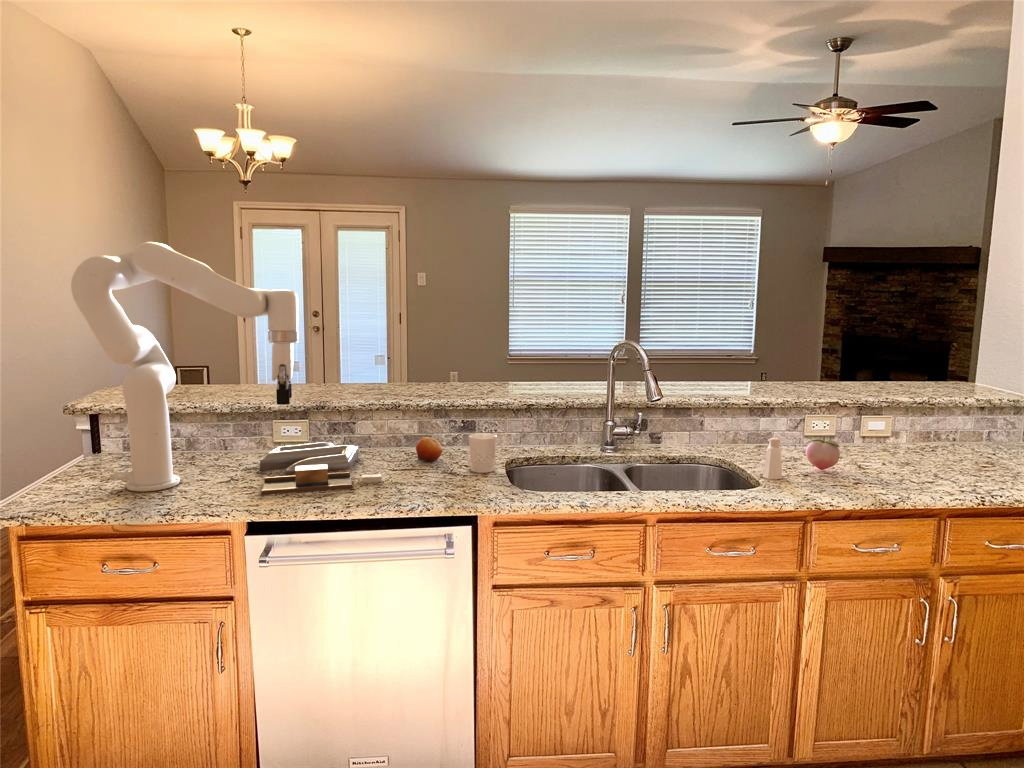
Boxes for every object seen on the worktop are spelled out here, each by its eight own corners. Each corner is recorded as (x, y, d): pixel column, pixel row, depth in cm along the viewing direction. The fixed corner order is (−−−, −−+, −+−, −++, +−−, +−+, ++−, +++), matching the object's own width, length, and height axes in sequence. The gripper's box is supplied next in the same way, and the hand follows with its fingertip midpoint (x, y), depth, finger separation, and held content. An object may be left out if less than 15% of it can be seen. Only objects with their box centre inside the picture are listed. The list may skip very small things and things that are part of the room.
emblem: (308, 466, 183) (238, 451, 197) (309, 486, 184) (239, 470, 198) (380, 445, 207) (313, 433, 221) (381, 462, 207) (314, 450, 221)
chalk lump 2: (371, 477, 184) (381, 476, 184) (371, 474, 186) (380, 474, 187) (372, 486, 184) (381, 485, 185) (371, 483, 187) (380, 483, 187)
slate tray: (261, 499, 173) (261, 490, 172) (264, 485, 184) (264, 477, 184) (352, 492, 179) (352, 484, 178) (350, 479, 190) (350, 471, 190)
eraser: (295, 487, 178) (295, 470, 177) (296, 482, 182) (295, 466, 182) (328, 485, 180) (327, 468, 180) (327, 480, 185) (327, 464, 184)
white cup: (478, 475, 196) (478, 440, 194) (463, 468, 202) (463, 435, 200) (501, 470, 200) (501, 436, 199) (486, 464, 206) (486, 431, 205)
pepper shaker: (758, 476, 197) (761, 438, 195) (767, 473, 201) (769, 435, 199) (777, 480, 193) (780, 442, 192) (785, 477, 197) (788, 438, 196)
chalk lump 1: (362, 486, 184) (362, 477, 183) (361, 484, 186) (361, 475, 186) (371, 486, 184) (371, 476, 184) (371, 483, 187) (371, 474, 186)
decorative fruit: (842, 469, 206) (844, 436, 204) (835, 475, 199) (838, 441, 198) (808, 464, 211) (811, 431, 210) (801, 469, 205) (803, 436, 203)
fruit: (412, 451, 215) (425, 430, 213) (434, 465, 215) (447, 443, 214) (407, 458, 207) (421, 436, 206) (430, 472, 207) (444, 450, 206)
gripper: (270, 334, 191) (272, 395, 194) (265, 339, 175) (266, 407, 177) (299, 334, 193) (300, 395, 196) (296, 340, 177) (297, 406, 179)
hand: (284, 401), depth 186 cm, fingers open, 9 cm apart
